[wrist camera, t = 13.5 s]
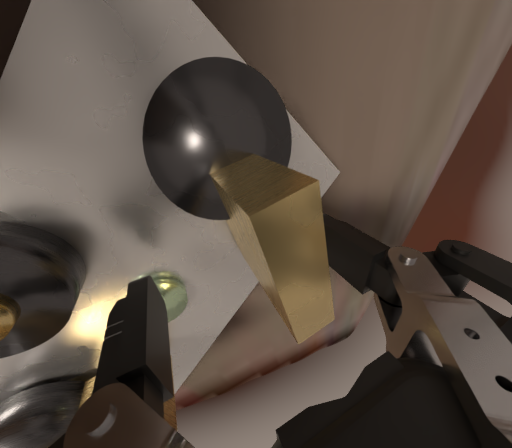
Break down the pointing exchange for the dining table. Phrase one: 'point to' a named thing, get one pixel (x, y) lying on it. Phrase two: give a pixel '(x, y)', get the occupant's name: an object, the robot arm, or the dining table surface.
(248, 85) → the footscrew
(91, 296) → the levelling plate
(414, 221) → the dining table surface
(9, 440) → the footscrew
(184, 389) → the dining table surface
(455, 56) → the dining table surface
